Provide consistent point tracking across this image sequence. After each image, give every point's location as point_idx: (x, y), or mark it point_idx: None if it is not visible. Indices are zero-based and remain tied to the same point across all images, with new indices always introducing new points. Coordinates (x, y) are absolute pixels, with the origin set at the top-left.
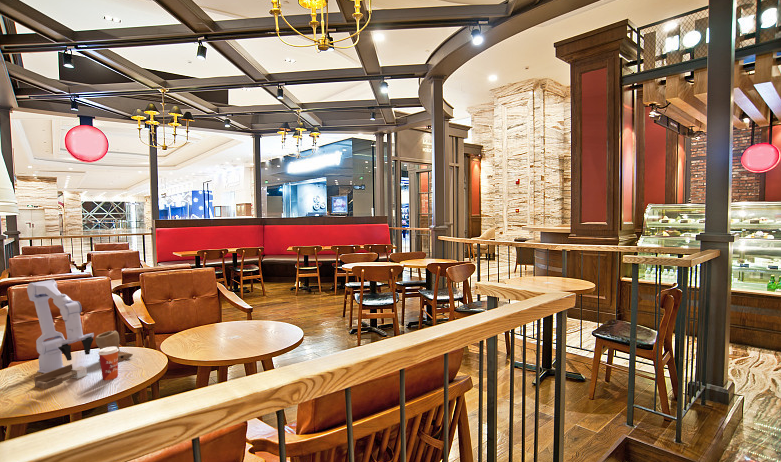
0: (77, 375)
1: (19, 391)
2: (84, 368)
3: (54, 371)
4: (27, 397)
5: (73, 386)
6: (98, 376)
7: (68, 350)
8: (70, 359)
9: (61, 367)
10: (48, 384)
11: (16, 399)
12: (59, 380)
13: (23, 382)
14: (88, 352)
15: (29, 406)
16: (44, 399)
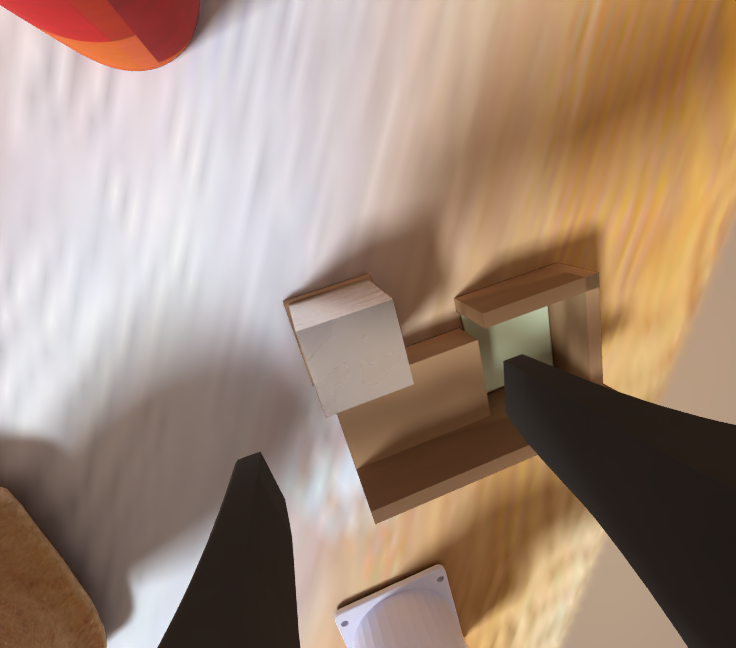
0: (374, 288)
1: (621, 385)
2: (315, 322)
3: (506, 446)
4: (650, 227)
5: (429, 147)
6: (208, 211)
7: (712, 440)
8: (525, 357)
9: (453, 489)
10: (564, 276)
11: (683, 253)
12: (492, 301)
13: (555, 520)
14: (253, 474)
15: (722, 9)
16: (633, 55)
